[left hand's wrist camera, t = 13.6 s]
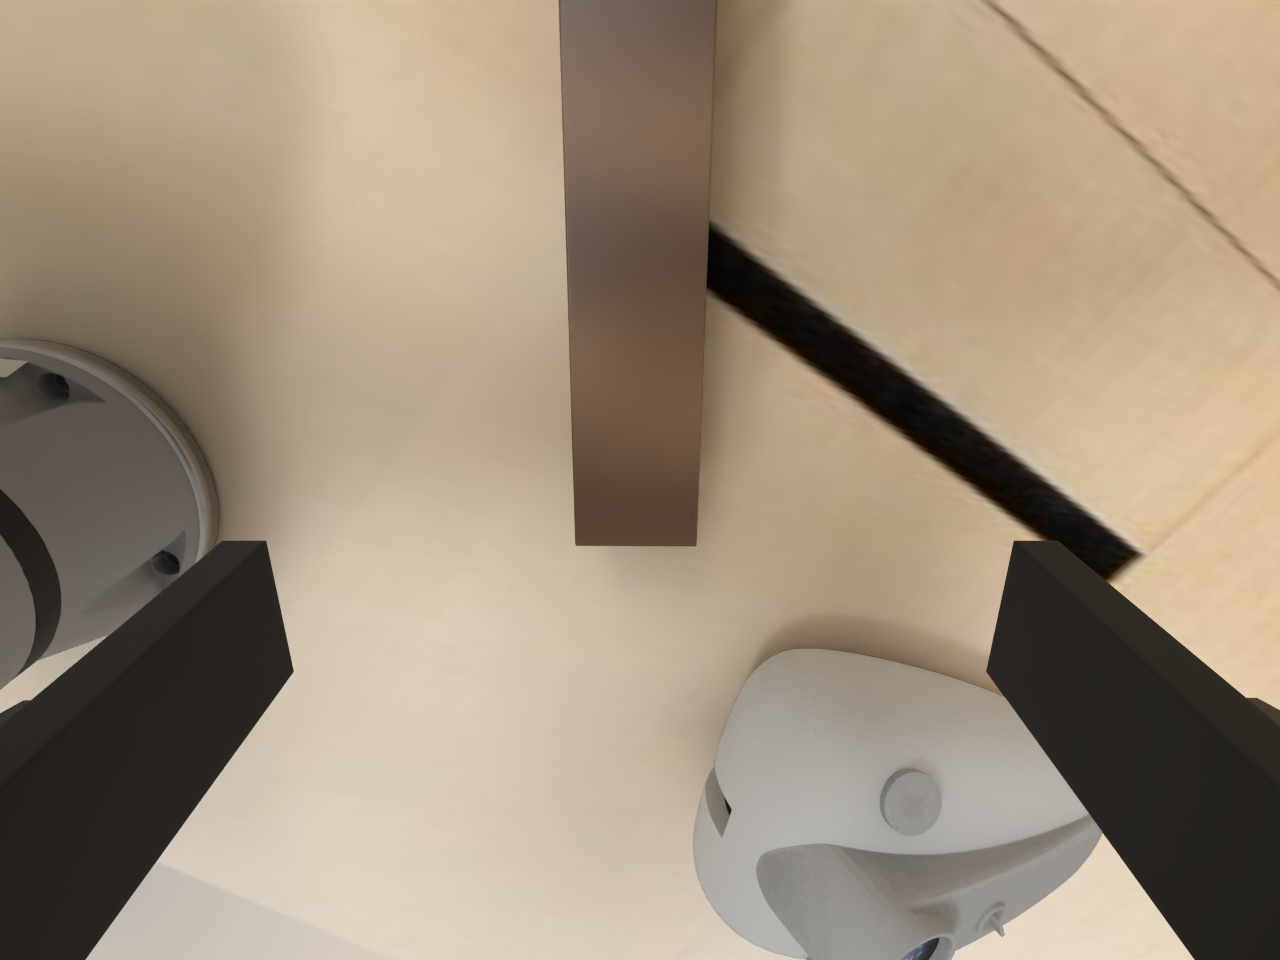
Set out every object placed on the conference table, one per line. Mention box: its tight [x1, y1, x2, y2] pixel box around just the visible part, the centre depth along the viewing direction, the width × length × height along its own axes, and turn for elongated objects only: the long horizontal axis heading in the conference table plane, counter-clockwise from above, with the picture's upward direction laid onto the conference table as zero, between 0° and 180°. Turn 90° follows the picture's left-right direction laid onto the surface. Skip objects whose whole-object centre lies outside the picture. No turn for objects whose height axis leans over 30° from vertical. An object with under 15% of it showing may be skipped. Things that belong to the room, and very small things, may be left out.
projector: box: [693, 649, 1103, 960], centre depth 37 cm, size 22×23×15 cm
